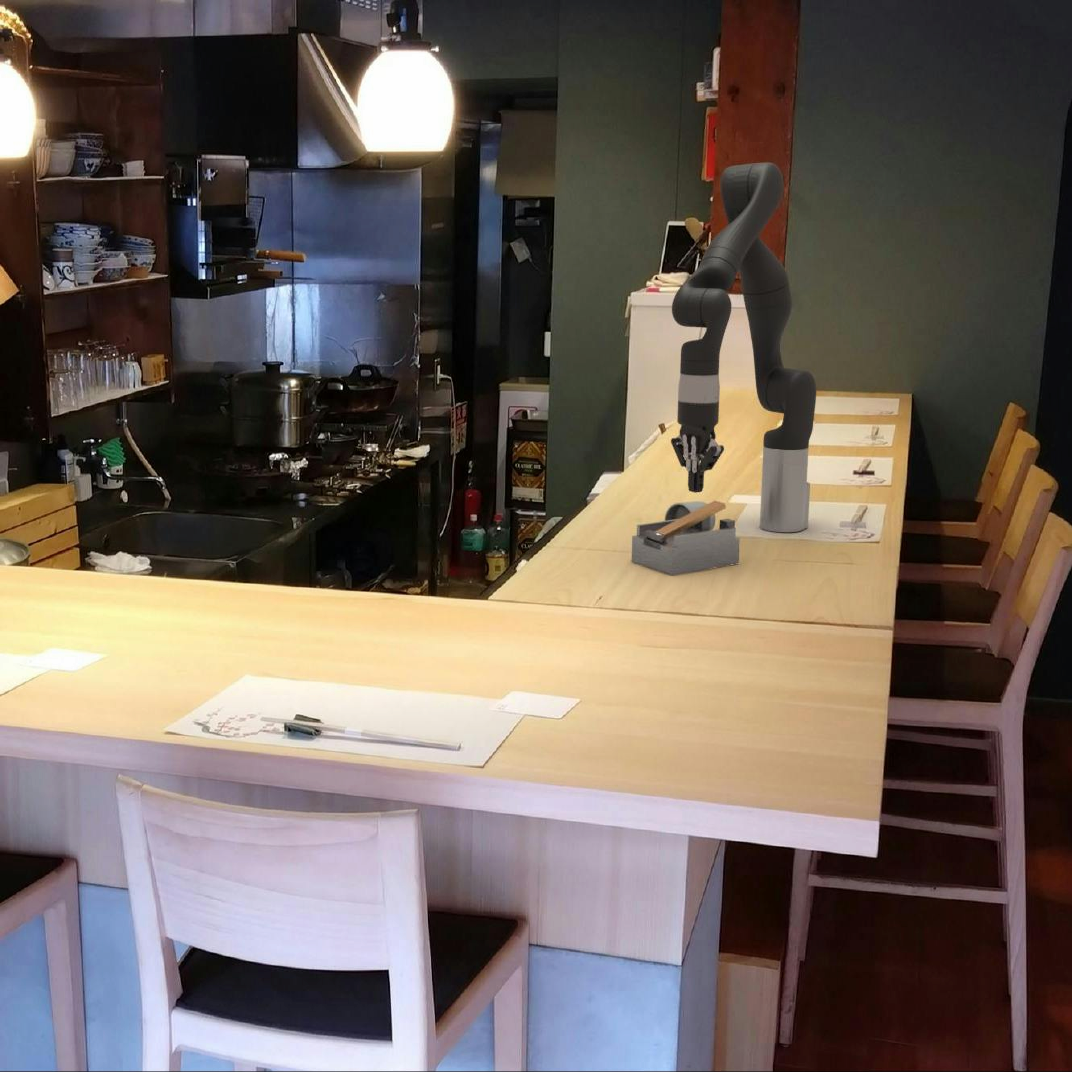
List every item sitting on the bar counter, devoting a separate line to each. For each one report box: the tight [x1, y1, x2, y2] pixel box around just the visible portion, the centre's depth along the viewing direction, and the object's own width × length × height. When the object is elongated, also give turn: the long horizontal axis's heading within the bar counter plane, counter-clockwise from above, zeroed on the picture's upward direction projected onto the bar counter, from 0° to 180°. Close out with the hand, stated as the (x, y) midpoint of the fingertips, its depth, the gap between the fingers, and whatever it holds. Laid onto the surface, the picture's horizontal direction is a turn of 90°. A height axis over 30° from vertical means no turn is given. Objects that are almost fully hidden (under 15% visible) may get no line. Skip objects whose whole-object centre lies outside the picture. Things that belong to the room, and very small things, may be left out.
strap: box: [645, 500, 727, 543], centre depth 251 cm, size 17×4×2 cm, turn 123°
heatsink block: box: [631, 517, 741, 576], centre depth 252 cm, size 16×12×8 cm
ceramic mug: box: [664, 500, 716, 530], centre depth 273 cm, size 11×8×8 cm
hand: (695, 491), depth 250 cm, fingers closed
